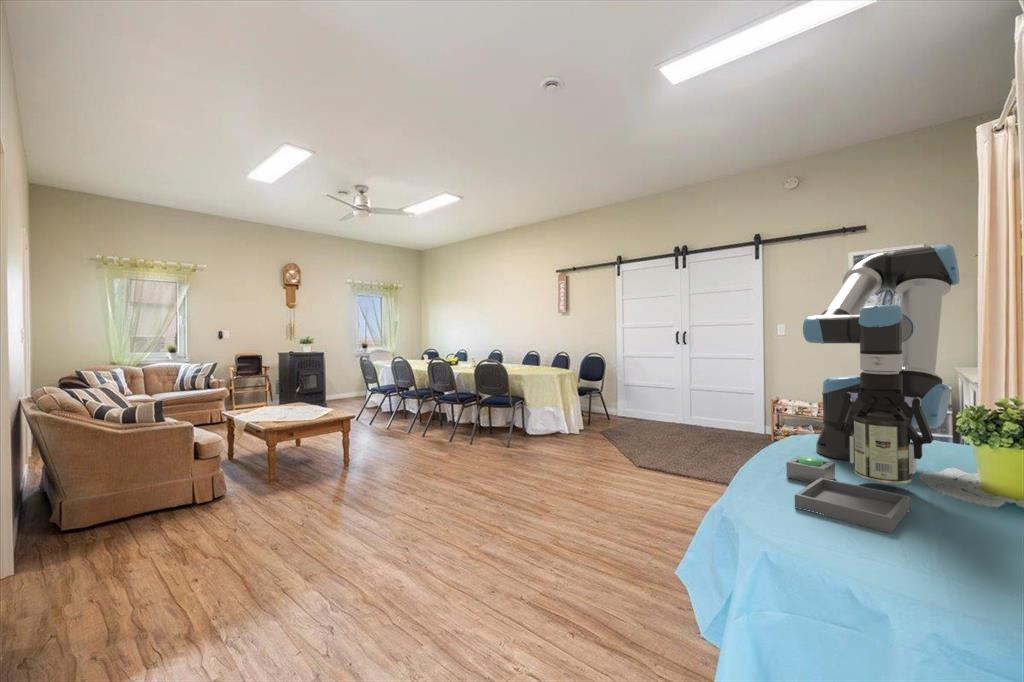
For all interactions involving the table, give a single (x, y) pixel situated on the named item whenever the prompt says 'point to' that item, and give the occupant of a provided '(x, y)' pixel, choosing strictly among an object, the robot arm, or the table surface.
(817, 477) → the button housing
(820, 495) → the shallow gray tray
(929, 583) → the table surface
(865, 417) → the coffee can
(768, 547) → the table surface
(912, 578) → the table surface
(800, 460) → the button
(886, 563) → the table surface
